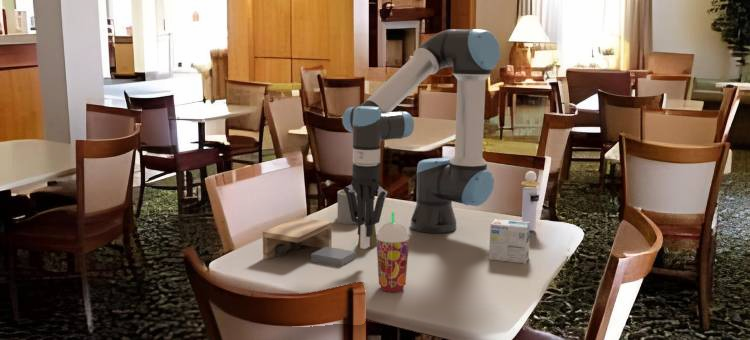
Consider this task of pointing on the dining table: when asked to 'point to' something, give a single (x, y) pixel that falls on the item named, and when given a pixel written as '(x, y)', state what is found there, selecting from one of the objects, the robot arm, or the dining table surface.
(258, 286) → the dining table surface
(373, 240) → the cork
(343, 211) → the coffee mug
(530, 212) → the perfume bottle
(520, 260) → the light bulb box
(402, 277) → the smoothie
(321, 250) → the slate board
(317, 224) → the oak shelf
